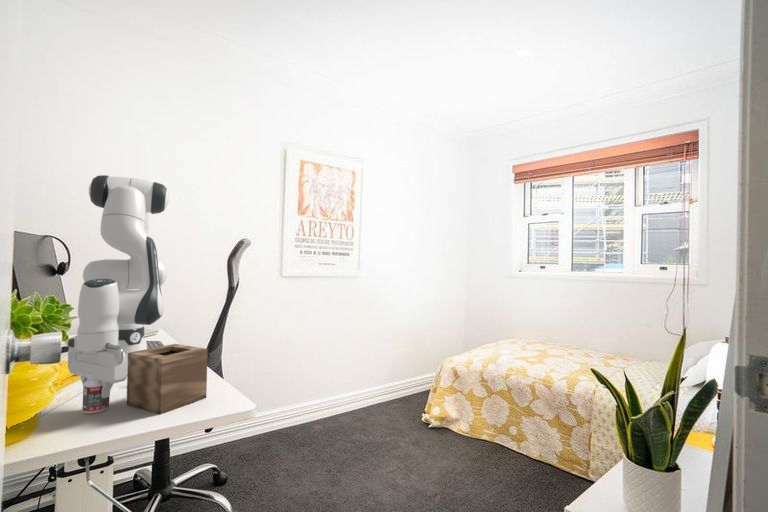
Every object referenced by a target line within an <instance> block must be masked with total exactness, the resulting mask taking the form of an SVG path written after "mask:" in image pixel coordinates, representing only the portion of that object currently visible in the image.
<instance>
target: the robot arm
mask: <svg viewBox="0 0 768 512" xmlns="http://www.w3.org/2000/svg"><path fill="white" fill-rule="evenodd" d="M167 189H168V188H167V187H166V186H165V184H162V183H159V182H156V181H154V182H152V181H148V180H145V179H139V178H135V177H131V178H130V177H126V176H125V177H121V176H109V175H106V174H105V175H103V174H102V175H101V174H100V175H96V176H95V177H93V178H92V180H91V182H90V184H89V186H88V195H89V198H90V202H91V203H92V204H93V205H94V206H96V207H98V208H102V209H103V210H102V215H101V220H100V235H101V237H102V239H103V241H104V242H105V243H106V244H107V245H109V246H110V247H111V248H113V249H115V250H117V251H119V252H122V253H124V254H125V255H127V256H129V257H130V258H128V259H110V258H109V259H105V258H104V259H99V260H94V261H93V260H91V261H90V262H88V264H87V265H86V266H85V267H84V268H83V271H82V279H83V283H82V284H81V288H80V291H79V296H78V303H77V304H78V306H77V317H78V320H79V321H78V322H79V324H78V327H77V331H76V332H77V333H76V335H75V336H73V337H70V338H68V339H67V340H68V341H67V340H66V347H68V350H67V351H68V352H67V367H68V371H69V373H70V374H72V375H76V376H80V381H81V383H82V386H83V385H84V383H85V382H86V381H87V378H86V373H90V374H93V379H96V380H100V381H102V385H103V387H102V390H101V391H100V395H99V396H100V397H102V398H107V397H109V396H111V390H112V388H113V385H114V384H117V383H121V382H124V381H126V380H127V371H128V353H130V352H135V351H140V350H145V349H148V343H147V340H146V339H145V338H144V337H145V333H146V330H145V326H151V325H152V324H154V323H155V322H157V321H158V320H160V318H162V316H163V314H164V308H165V307H164V306H165V305H164V300H163V297H162V296H163V295H162V289H161V288H162V287H161V286H163V284H165V282H166V280H167V277H168V271H167V268H166V266H165V265H164V264H163V263H162V262H161V261H160V260H158V253H157V247H156V244H155V241H154V239H153V238H152V237H150V236H149V229H150V228H149V227H150V226H149V225H150V223H149V222H150V214H152V215H155V214H161V213H163V212H164V211H165V210H166V208H167V207H168V205H169V202H170V201H169V200H170V197H169V192H168V191H167Z"/></svg>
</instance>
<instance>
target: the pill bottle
mask: <svg viewBox="0 0 768 512" xmlns="http://www.w3.org/2000/svg"><path fill="white" fill-rule="evenodd" d="M86 378H87V381H86V382H85V383H84V385H83V384H82V386H83V387H82V389H83V390H82V407H81V409H82V413H84V414H98V413H102V412H104V411H107V410H108V409H109V408H110V396H111V395H110V396H109V397H107V398H102V397H100V396H99V395H100V391H101V390H102V387H103V385H102V381H100V380H96V379H93V374H90V373H86Z"/></svg>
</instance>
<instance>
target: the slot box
mask: <svg viewBox="0 0 768 512" xmlns="http://www.w3.org/2000/svg"><path fill="white" fill-rule="evenodd" d="M208 351H209V350H208V348H203V347H197V346H191V345H185V344H178V343H172V344H166V345H163V346H156V347H152V348H147V349H145V350H140V351H135V352H130V353H128V370H127V378H126V406H129V407H132V408H136V409H140V410H144V411H147V412H151V413H154V414H158V415H162V414H165V413H168V412H171V411H173V410H177V409H179V408H183V407H185V406H188V405H191V404H194V403H196V402H199V401H202V400H205V399H207V393H208V392H207V391H208V390H207V385H208V384H207V383H208ZM204 398H205V399H204Z"/></svg>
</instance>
